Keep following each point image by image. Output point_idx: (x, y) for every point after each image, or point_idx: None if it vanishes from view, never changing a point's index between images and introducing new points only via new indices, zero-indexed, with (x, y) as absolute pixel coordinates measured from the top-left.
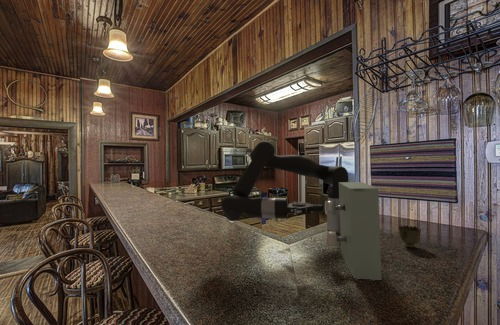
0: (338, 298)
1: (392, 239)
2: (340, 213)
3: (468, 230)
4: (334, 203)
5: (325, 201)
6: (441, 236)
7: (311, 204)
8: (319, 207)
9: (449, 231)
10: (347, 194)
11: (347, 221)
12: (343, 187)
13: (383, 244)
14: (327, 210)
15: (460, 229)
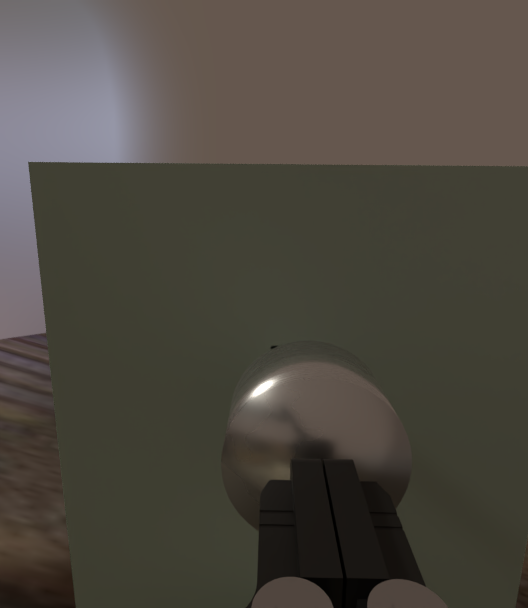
0: None
1: (5, 457)
2: (99, 457)
3: (37, 339)
4: (362, 362)
5: (326, 385)
6: (49, 374)
7: (311, 585)
8: (390, 512)
9: (24, 356)
10: (469, 234)
11: None
12: (297, 189)
13: (42, 495)
14: (406, 475)
15: (23, 343)
